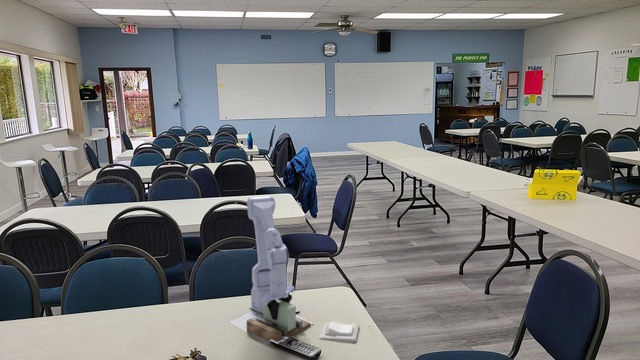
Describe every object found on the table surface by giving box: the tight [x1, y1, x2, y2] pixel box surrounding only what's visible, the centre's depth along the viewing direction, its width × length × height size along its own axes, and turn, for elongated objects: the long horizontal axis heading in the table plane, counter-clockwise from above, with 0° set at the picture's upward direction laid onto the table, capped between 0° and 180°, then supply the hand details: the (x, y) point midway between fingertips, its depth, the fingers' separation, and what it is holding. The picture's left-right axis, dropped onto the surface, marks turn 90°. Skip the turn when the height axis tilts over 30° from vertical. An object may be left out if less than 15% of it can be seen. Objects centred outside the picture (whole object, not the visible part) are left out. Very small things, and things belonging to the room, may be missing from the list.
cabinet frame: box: [246, 316, 312, 342], centre depth 160 cm, size 15×17×4 cm
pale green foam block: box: [262, 299, 297, 331], centre depth 159 cm, size 5×12×8 cm, turn 51°
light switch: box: [318, 320, 360, 343], centre depth 157 cm, size 11×4×13 cm
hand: (278, 316), depth 159 cm, fingers closed on pale green foam block, 4 cm apart
